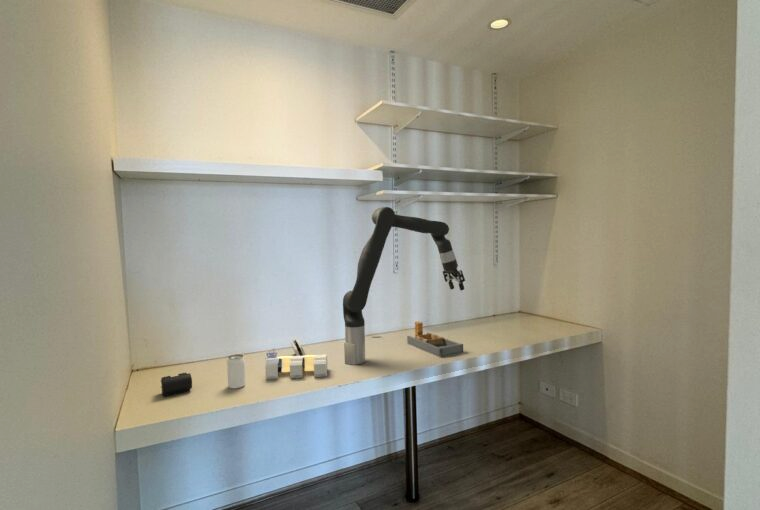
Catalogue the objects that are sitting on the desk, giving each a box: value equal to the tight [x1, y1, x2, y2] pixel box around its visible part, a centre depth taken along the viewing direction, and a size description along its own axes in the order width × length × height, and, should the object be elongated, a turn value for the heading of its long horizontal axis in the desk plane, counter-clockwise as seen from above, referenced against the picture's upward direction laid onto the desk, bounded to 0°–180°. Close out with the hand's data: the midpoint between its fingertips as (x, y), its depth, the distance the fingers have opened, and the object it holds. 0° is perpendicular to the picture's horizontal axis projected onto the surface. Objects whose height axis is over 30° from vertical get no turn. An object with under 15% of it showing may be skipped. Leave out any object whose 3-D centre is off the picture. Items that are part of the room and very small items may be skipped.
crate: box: [414, 321, 445, 346], centre depth 210 cm, size 17×10×10 cm, turn 28°
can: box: [226, 354, 246, 390], centre depth 156 cm, size 6×6×12 cm
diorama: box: [264, 348, 328, 380], centre depth 168 cm, size 25×10×13 cm, turn 94°
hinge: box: [290, 338, 308, 356], centre depth 192 cm, size 17×5×10 cm, turn 21°
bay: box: [406, 332, 464, 358], centre depth 204 cm, size 30×14×4 cm, turn 28°
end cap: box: [160, 372, 193, 397], centre depth 151 cm, size 10×7×7 cm
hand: (457, 289), depth 203 cm, fingers open, 8 cm apart
